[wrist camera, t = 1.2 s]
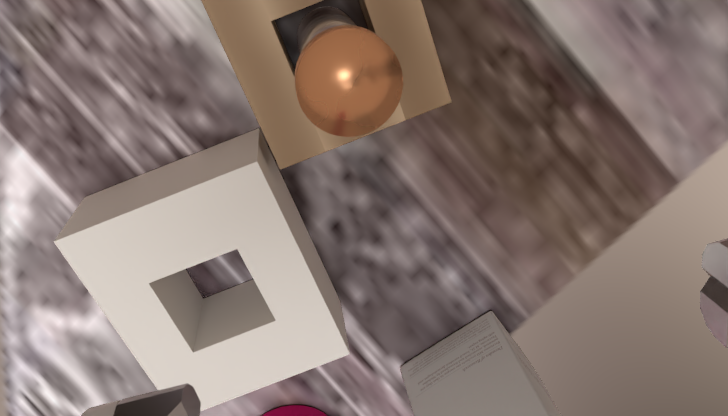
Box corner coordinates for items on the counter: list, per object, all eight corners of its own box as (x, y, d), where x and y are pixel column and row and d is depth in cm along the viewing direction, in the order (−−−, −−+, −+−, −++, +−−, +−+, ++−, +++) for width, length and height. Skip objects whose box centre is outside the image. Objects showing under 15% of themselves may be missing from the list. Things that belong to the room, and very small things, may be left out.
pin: (348, -15, 29) (382, 12, 20) (374, 59, 31) (416, 114, 22) (276, 15, 29) (277, 54, 20) (306, 86, 31) (319, 152, 22)
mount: (381, -91, 28) (393, -93, 25) (436, 87, 32) (451, 101, 29) (202, -19, 28) (195, -13, 25) (279, 149, 32) (280, 169, 29)
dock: (259, 128, 31) (257, 161, 27) (340, 301, 37) (349, 354, 32) (84, 197, 32) (53, 241, 27) (190, 359, 37) (178, 419, 33)
